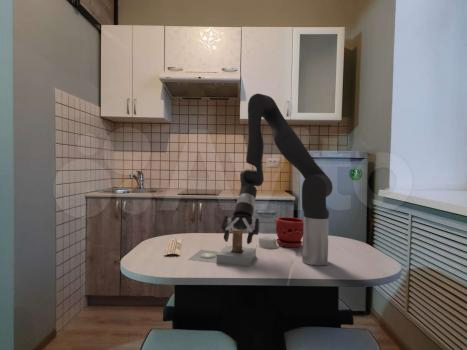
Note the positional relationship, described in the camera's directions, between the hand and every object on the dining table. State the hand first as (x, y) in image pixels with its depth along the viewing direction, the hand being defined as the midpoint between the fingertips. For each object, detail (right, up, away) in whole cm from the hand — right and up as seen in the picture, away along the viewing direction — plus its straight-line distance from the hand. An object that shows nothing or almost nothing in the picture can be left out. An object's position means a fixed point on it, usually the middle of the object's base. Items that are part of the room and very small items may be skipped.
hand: (236, 241), depth 109 cm
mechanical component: (+14, -8, +21) cm, 26 cm away
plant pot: (+25, -7, +26) cm, 36 cm away
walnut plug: (0, -7, 0) cm, 7 cm away
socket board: (-5, -7, +2) cm, 9 cm away
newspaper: (-26, -7, +17) cm, 32 cm away
